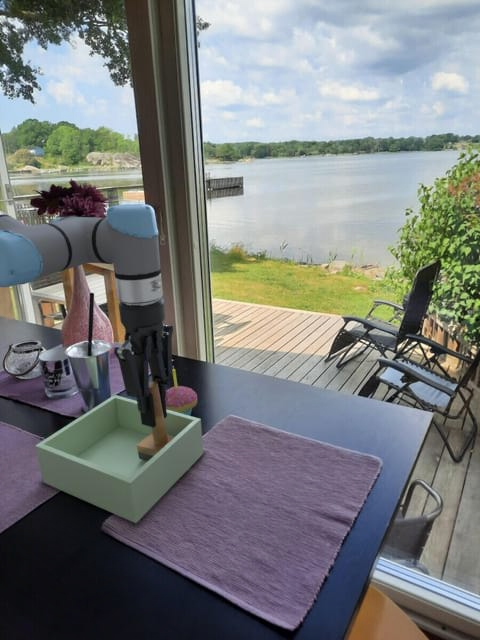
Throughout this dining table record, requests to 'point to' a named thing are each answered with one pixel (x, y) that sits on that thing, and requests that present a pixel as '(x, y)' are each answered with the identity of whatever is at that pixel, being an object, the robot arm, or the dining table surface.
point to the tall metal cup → (91, 367)
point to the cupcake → (180, 398)
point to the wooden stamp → (154, 429)
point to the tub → (118, 457)
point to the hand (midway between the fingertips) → (154, 420)
